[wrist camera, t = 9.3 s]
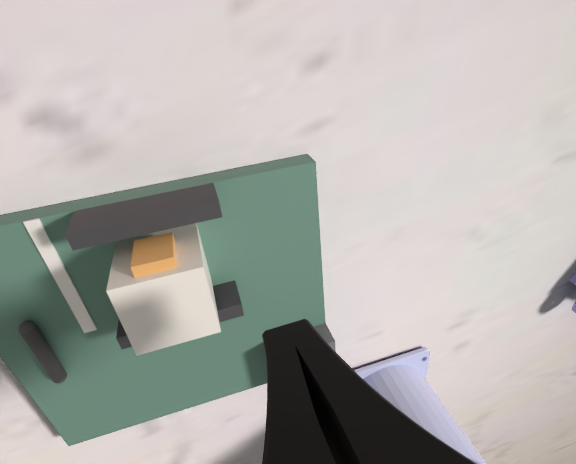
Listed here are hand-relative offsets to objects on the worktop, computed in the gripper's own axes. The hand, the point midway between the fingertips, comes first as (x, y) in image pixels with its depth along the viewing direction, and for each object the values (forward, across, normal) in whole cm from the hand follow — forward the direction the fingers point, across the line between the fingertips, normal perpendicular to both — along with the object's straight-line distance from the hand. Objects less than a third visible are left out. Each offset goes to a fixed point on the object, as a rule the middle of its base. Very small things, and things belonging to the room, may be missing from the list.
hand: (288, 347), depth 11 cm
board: (+10, +4, +5) cm, 12 cm away
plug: (+9, +4, +1) cm, 10 cm away
